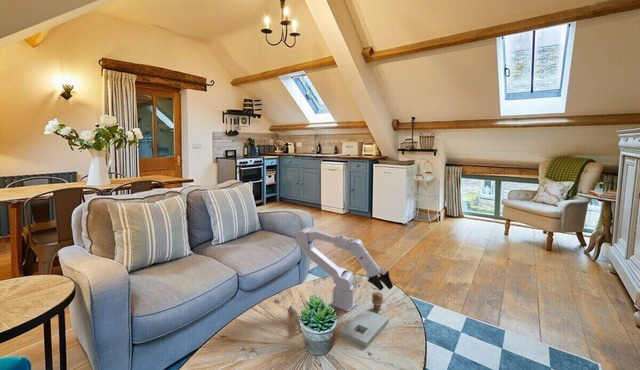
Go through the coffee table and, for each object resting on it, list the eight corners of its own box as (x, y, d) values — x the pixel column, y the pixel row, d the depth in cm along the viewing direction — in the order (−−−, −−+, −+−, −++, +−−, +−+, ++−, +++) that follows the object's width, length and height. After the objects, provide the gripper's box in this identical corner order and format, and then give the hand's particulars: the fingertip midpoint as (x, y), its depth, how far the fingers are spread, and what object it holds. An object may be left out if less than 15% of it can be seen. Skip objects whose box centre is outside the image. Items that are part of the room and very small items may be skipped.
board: (339, 335, 126) (340, 330, 125) (364, 312, 142) (364, 308, 141) (366, 347, 119) (366, 342, 118) (388, 322, 134) (388, 318, 134)
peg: (369, 308, 145) (370, 295, 144) (374, 304, 149) (375, 291, 147) (379, 312, 142) (380, 298, 141) (384, 307, 146) (384, 294, 145)
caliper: (302, 332, 128) (302, 318, 127) (300, 333, 127) (300, 319, 126) (291, 306, 147) (291, 294, 146) (289, 306, 147) (289, 294, 146)
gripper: (382, 255, 136) (401, 281, 135) (366, 260, 148) (383, 284, 147) (372, 265, 132) (391, 292, 131) (356, 269, 145) (373, 293, 144)
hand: (386, 288), depth 139 cm, fingers open, 7 cm apart
